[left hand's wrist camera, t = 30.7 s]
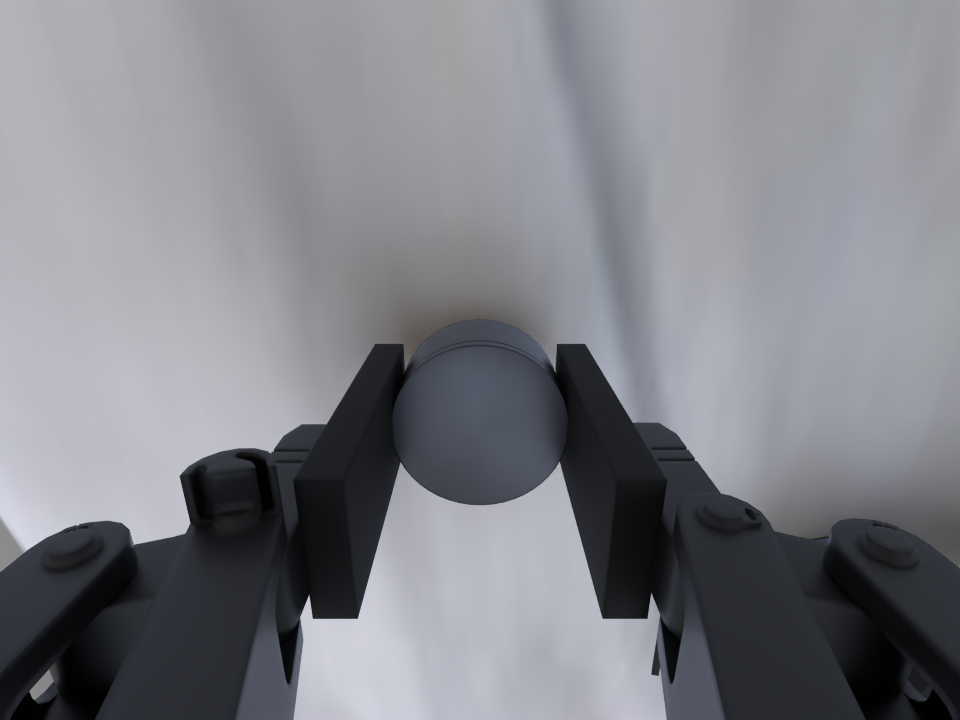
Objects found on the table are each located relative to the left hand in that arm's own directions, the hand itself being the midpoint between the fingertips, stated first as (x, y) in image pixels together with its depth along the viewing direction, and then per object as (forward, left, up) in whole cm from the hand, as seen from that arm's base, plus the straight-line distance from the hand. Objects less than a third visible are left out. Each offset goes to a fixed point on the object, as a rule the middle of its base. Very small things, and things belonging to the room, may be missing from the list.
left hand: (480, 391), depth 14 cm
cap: (0, 0, +2) cm, 2 cm away
